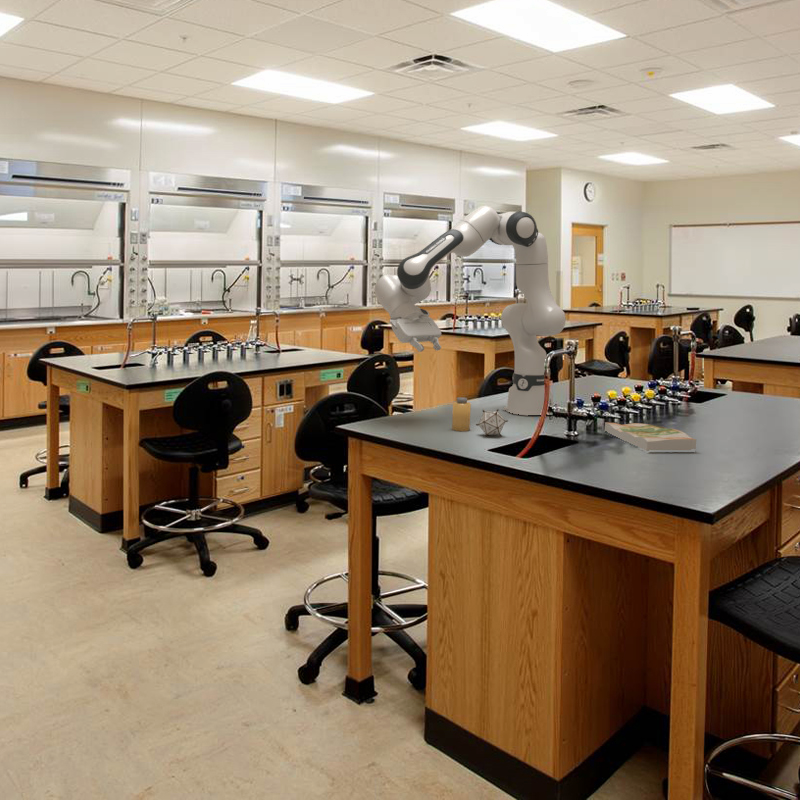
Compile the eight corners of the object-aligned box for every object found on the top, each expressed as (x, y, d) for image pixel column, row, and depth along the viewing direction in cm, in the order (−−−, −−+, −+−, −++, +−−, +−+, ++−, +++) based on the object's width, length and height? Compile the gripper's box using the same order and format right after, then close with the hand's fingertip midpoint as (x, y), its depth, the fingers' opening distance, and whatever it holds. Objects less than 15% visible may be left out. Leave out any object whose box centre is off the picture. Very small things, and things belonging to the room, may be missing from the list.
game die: (495, 449, 238) (505, 426, 231) (469, 437, 239) (479, 415, 232) (503, 430, 244) (513, 408, 237) (478, 419, 245) (488, 396, 238)
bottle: (457, 427, 251) (458, 396, 250) (472, 429, 248) (474, 398, 247) (448, 429, 246) (449, 398, 245) (464, 432, 244) (465, 400, 242)
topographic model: (695, 454, 222) (696, 437, 221) (646, 454, 219) (647, 437, 219) (647, 434, 251) (648, 418, 250) (604, 433, 249) (605, 418, 248)
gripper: (393, 311, 245) (417, 344, 241) (430, 310, 262) (453, 342, 257) (381, 324, 249) (405, 357, 244) (419, 323, 265) (442, 354, 261)
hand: (430, 349), depth 251 cm, fingers open, 8 cm apart
